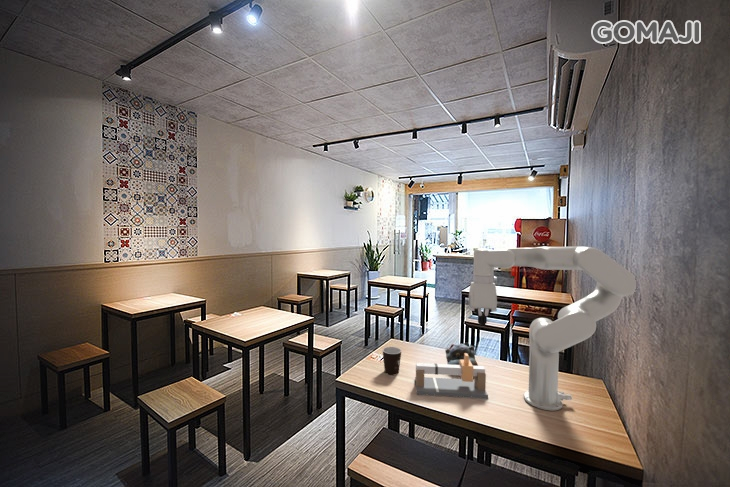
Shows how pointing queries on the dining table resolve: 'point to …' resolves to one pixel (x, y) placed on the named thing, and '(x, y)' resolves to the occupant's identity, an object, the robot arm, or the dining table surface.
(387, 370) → the coffee mug
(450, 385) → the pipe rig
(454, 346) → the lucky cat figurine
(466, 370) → the orange stepped block
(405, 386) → the dining table surface
